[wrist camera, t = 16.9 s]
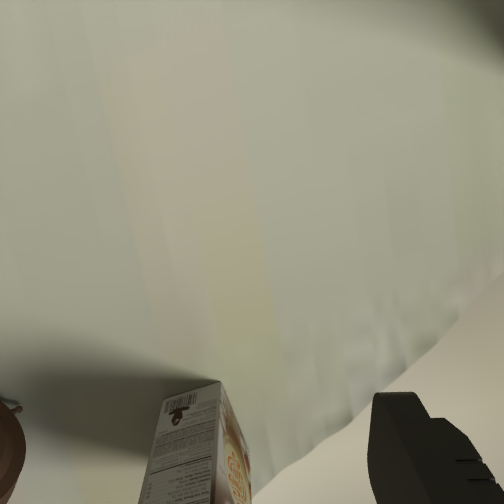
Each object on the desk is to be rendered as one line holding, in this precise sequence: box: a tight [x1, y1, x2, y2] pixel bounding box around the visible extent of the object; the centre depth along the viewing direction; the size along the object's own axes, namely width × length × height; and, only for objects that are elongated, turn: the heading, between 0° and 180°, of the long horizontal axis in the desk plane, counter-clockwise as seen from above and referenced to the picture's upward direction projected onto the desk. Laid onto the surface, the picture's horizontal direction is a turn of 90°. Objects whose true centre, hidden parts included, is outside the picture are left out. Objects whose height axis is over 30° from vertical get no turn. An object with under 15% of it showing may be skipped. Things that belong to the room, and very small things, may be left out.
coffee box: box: [138, 382, 251, 504], centre depth 39 cm, size 9×6×16 cm
